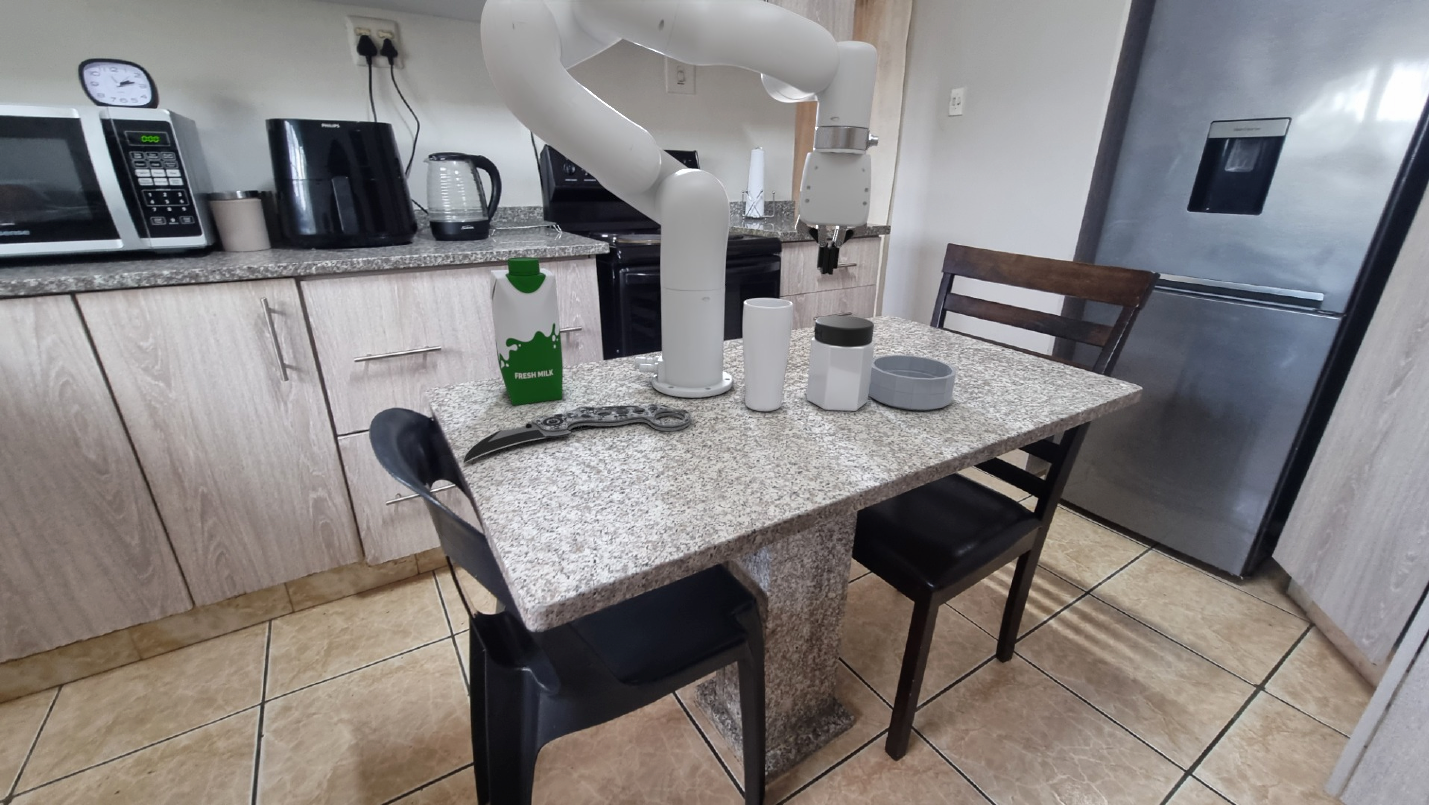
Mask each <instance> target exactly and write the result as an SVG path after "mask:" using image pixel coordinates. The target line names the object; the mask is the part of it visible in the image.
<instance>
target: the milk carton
mask: <svg viewBox="0 0 1429 805" xmlns="http://www.w3.org/2000/svg"><path fill="white" fill-rule="evenodd" d="M489 296H490V300H491V313H492V321H493V329H494V339H495V347H496V355H497V362H498V366H499V370H500V373H501V376H502V379H503V383H504V386H505V390H506V392H507V395H508V397H509V399H510V402H511V404H512V406H519V405H527V404H528V405H529V404H533V403H542V402H550V401H556V400H557V401H559V400H563V384H564V383H563V382H564V380H563V378H564V374H563V373H564V365H563V364H564V363H563V362H564V361H563V350H562V336H561V335H562V334H561V324H560V322H561V321H560V311H559V301H558V300H559V299H558V290H557V279H556V275H555V274H554V273H552V271H550V270H549V269H547V268H545V267H542V268H541V267H540V259H539V258H538V257H534V256H533V257H531V256H519V257H518V256H517V257H510V258H507V269H492V270H490V282H489Z"/></svg>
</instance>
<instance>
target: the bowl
mask: <svg viewBox="0 0 1429 805" xmlns="http://www.w3.org/2000/svg"><path fill="white" fill-rule="evenodd" d="M957 373H958V370H957V369H956V367H954V366H953V365H952V364H949V363H947V362H945V361H943V360H939V359H936V358H930V357H927V356H919V355H913V354H886V355H880V356H877V357H873V361H872V369H871V378H870V386H869V395H868V397H871V398H872V399H874V400H875V401H877V402H880V403H881V404H883V405H886V406H889V407H892V408H896V409H901V410H909V411H932V410H936V409H941V408H945V407H947V406H948V405H951V403H952V400H953V394H954V389H955V383H956V378H957Z"/></svg>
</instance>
